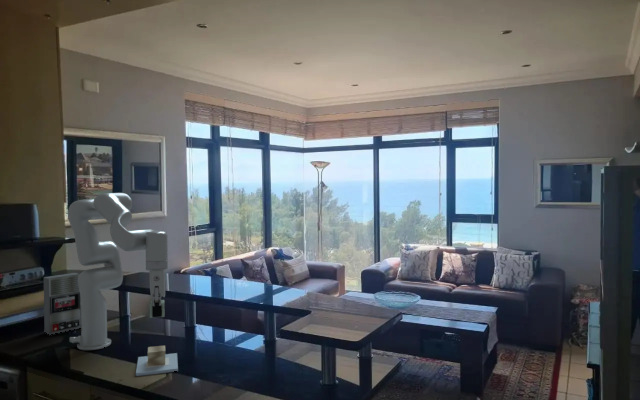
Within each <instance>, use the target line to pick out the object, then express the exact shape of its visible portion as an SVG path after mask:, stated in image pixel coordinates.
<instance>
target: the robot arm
mask: <svg viewBox="0 0 640 400" xmlns="http://www.w3.org/2000/svg"><path fill="white" fill-rule="evenodd" d="M132 208H133V201H132V197H130V196H129V195H128V194H127V193H124V192H104V193H100V194H98V195H97V196H95V198H91V199H90V198H85V199H79V200H75V201H73V202H72V203H71V204H70V205H69V207H68V210H67V217H68V222H69V225H70V227H71V229H72V232H73V235H74V240H75V247H76V254H77V259H78V261H79V264H80V265H82V266H84V267H91V266H96V265H98V266H99V265H102V264H103V265H104V266H102V267H96V268H95V267H94V268H91V269H90V268H89V269H86V270H84V271H82V272H81V273H79V274H80V275H79V277H78V286H79V291H80V297H81V330H80V333H81V335H78V336H70V337H69V343H71V344H75V343H76V346H77V349H79V350H80V351H95V350H96V351H97V350H100V349H105V348H107V347H109V346H110V345H111V344H112V339H111V338H108V324H107V323H108V312H107V311H108V310H107V307H108V305H107V300H106V297H105V296H104V295H103V294H102V291H105V290H106V291H107V290H111V289H115V288H118V287H120V286H121V285H122V284H123V280H124V273H123V267H122V261H121V256H120V250H119V248H120V249H121V250H123V251H125V252H136V251H144V250H145V271H149V272H148V273H149V276H148V277H149V291H150V298H152V301H153V306H152V317H156V318H162V317H161V316H162V305H161V300H162V297H163V298H165V297H166V270H168V265H169V264H168V262H169V261H168V258H169V257H168V254H169V253H168V234H167V232H166V231H163V230H156V229H151V228H147V229H146V228H145V229H134V230H127V229H126V228H127V227H128V225H129V224H131V222H132V219H133V215H132V214H133V213H132V211H131V210H132ZM92 220H93V221H94V220H95V221H96V220H106V222H107V223H109V231H110V232H109V233H110V237H111V240H102V241H101V240H99V236H98V231H97V228H96V227H95V226H94V225H93V223H91V221H92ZM118 247H119V248H118ZM104 347H105V348H104Z"/></svg>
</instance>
